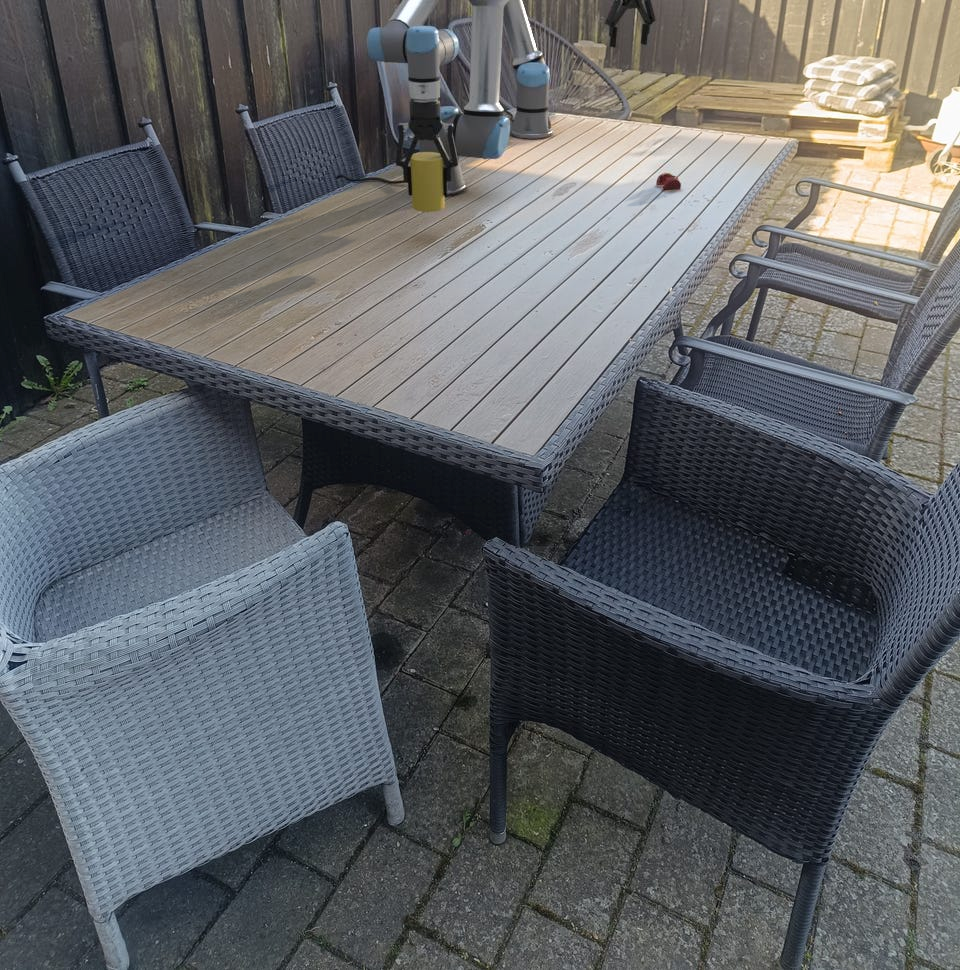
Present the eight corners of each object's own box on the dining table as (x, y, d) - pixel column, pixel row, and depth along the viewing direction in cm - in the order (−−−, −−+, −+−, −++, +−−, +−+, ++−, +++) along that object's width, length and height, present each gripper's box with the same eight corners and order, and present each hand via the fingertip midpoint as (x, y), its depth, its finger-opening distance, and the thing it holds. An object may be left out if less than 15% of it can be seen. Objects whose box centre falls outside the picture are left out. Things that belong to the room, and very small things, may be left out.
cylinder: (430, 199, 224) (428, 150, 216) (451, 207, 219) (450, 156, 211) (405, 206, 219) (403, 156, 212) (426, 214, 214) (424, 162, 207)
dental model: (672, 169, 261) (683, 176, 255) (671, 183, 263) (682, 190, 257) (655, 171, 260) (666, 178, 254) (654, 185, 262) (665, 192, 256)
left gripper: (379, 102, 201) (385, 198, 214) (467, 102, 201) (468, 198, 214) (383, 95, 207) (388, 189, 220) (469, 96, 207) (469, 189, 220)
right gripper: (610, -20, 288) (605, 49, 300) (670, -23, 297) (662, 44, 309) (598, -22, 293) (593, 46, 306) (657, -25, 302) (650, 41, 315)
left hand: (428, 193), depth 217 cm, fingers closed on cylinder, 8 cm apart
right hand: (628, 45), depth 308 cm, fingers open, 13 cm apart
